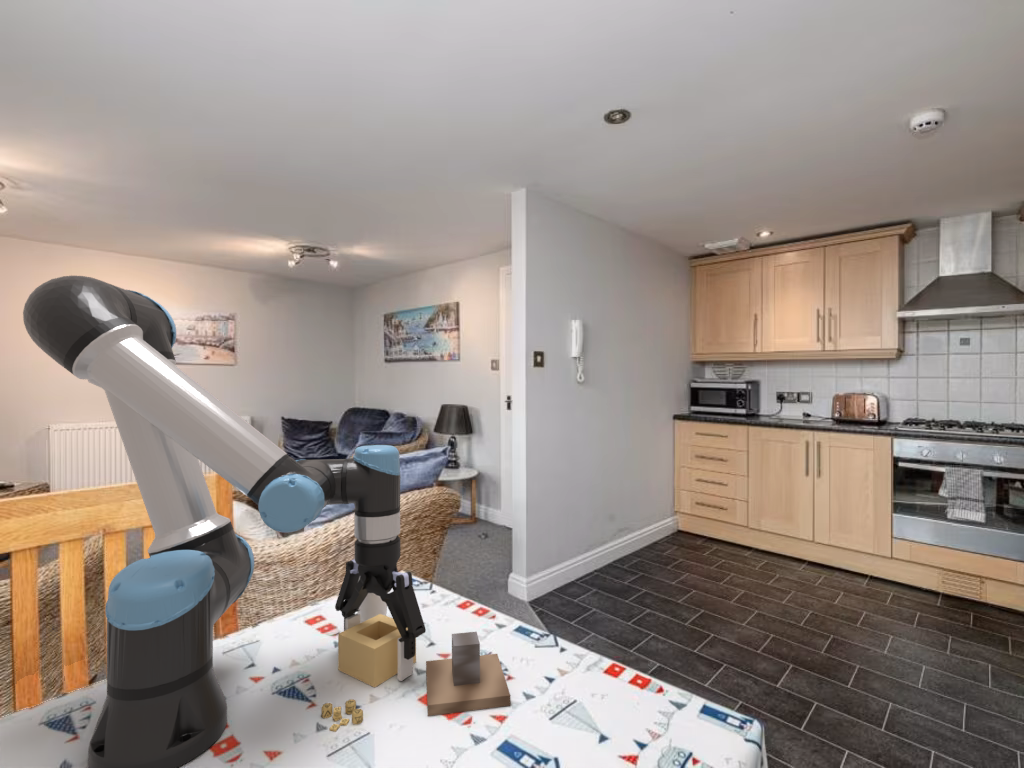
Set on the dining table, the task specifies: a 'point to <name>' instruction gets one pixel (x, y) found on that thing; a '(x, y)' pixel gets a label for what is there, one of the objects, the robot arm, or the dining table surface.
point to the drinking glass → (371, 607)
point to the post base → (468, 692)
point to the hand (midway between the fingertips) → (378, 664)
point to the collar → (370, 650)
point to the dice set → (349, 709)
